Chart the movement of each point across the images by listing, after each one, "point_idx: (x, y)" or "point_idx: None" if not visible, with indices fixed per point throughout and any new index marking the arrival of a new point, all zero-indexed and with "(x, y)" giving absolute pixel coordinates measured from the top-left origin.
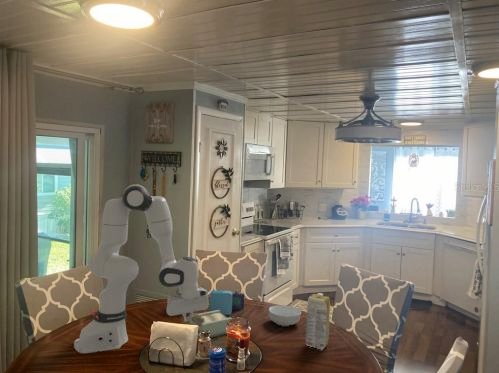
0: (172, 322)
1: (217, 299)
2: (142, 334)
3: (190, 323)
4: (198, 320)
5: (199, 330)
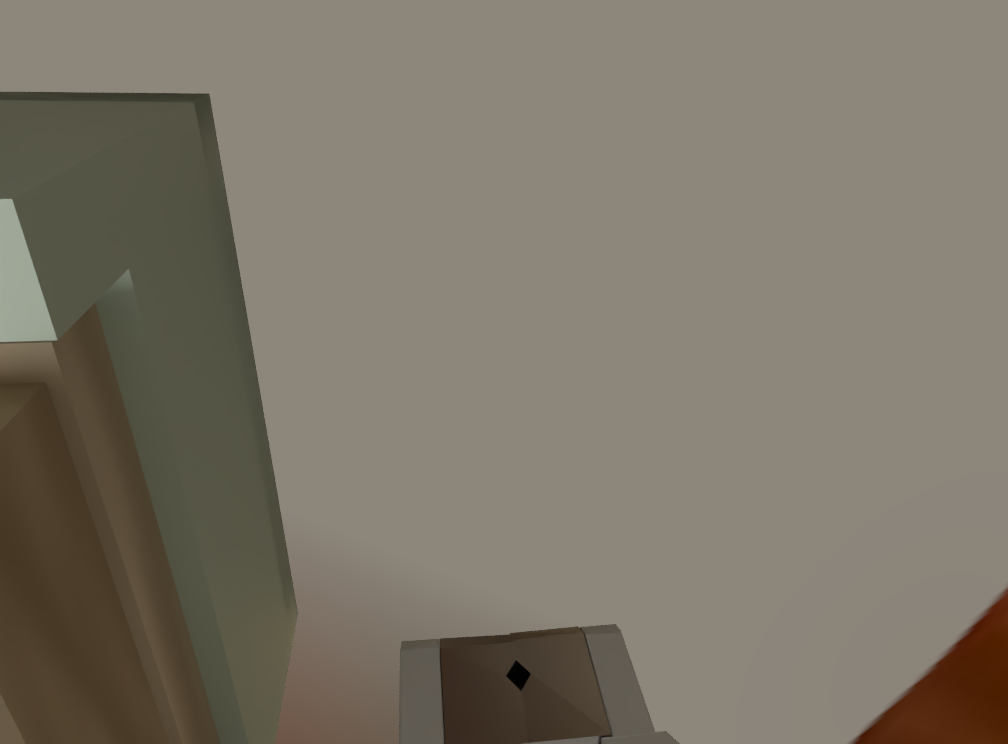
0: None
1: None
2: (967, 676)
3: (275, 708)
4: (99, 635)
5: (194, 321)
